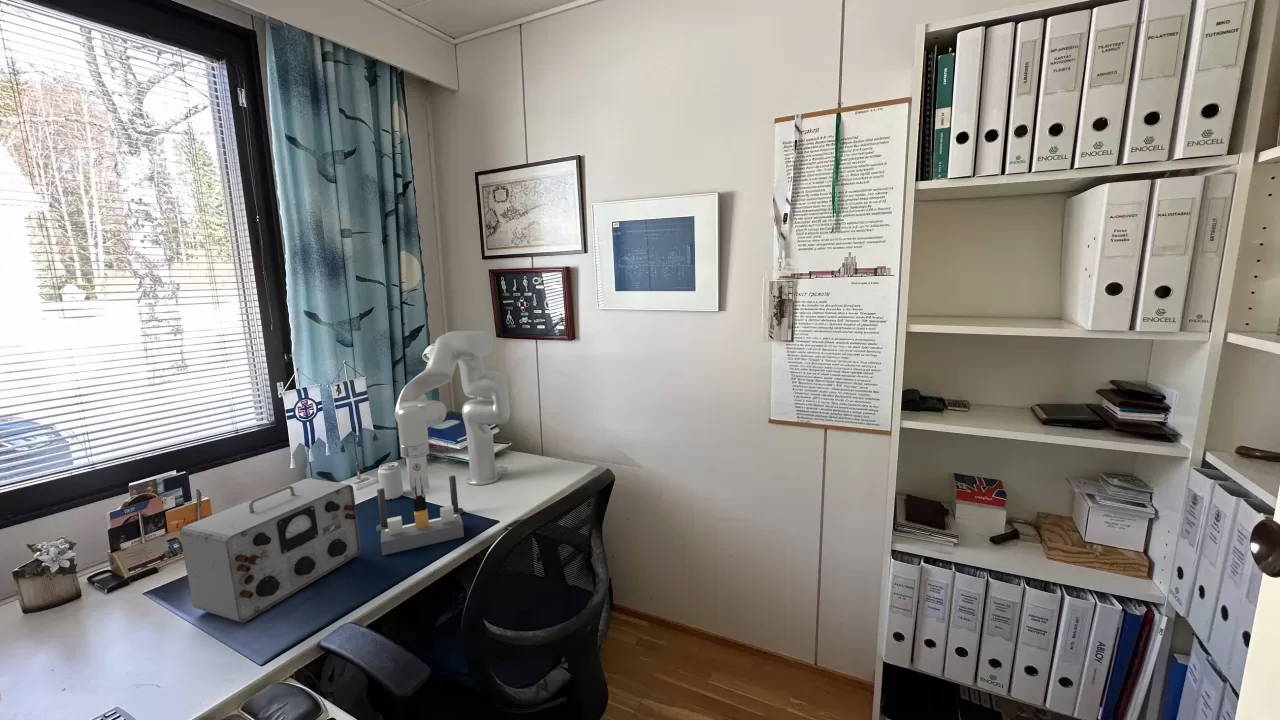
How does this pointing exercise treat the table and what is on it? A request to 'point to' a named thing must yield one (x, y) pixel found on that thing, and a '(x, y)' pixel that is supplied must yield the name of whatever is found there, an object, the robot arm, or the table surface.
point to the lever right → (447, 514)
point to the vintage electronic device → (269, 547)
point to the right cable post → (454, 495)
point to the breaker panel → (421, 535)
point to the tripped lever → (421, 518)
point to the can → (390, 480)
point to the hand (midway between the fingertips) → (420, 509)
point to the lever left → (395, 525)
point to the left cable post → (382, 510)
